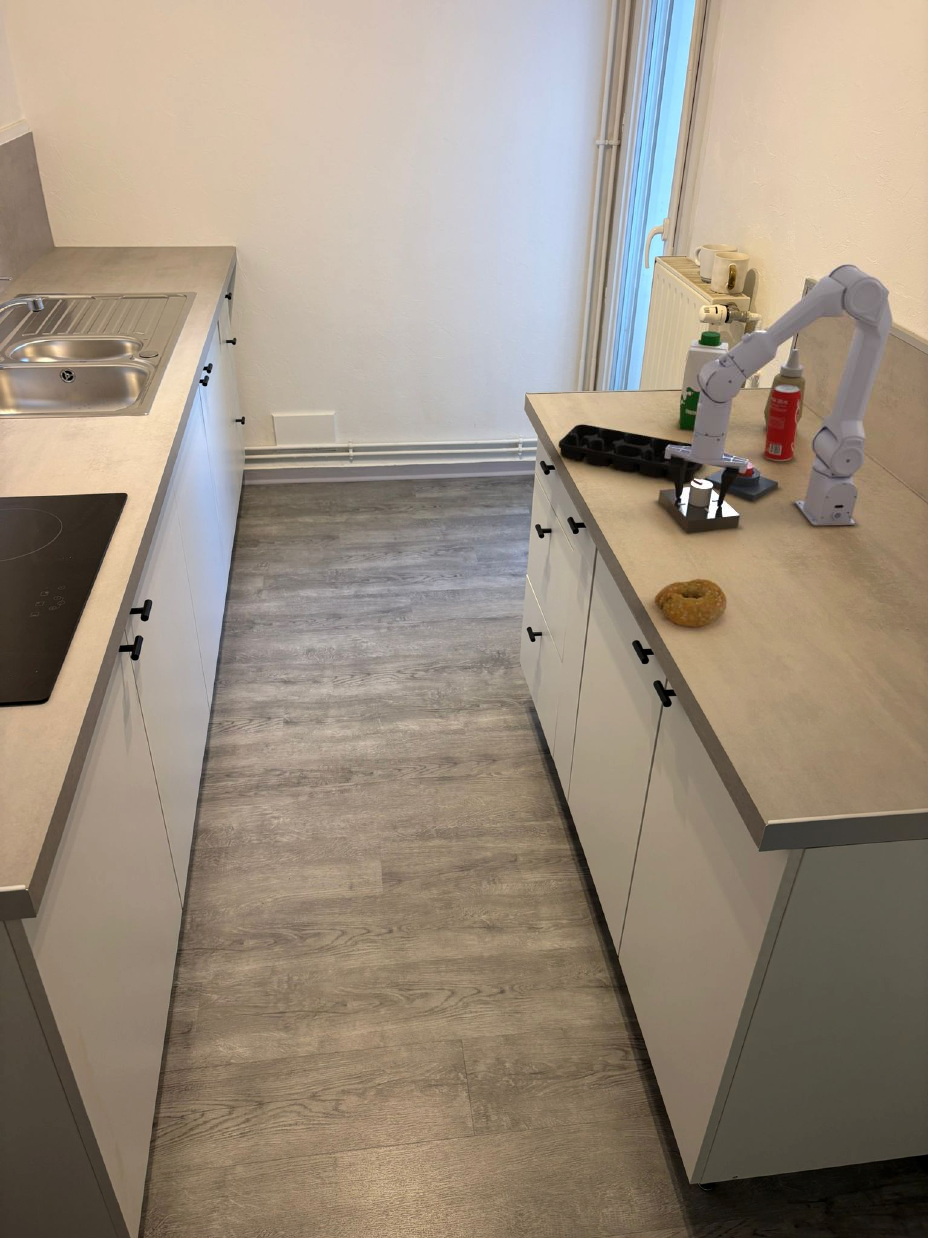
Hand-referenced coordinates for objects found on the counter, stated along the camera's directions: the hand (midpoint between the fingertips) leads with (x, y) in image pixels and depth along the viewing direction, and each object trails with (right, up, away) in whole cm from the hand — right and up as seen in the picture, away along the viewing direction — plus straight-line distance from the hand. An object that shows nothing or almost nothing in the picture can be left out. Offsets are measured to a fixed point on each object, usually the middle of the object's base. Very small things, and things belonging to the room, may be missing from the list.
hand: (699, 500), depth 177 cm
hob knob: (0, 0, 0) cm, 0 cm away
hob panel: (0, -2, +2) cm, 3 cm away
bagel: (-8, -21, -27) cm, 35 cm away
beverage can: (+22, +12, +25) cm, 36 cm away
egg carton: (-9, +11, +22) cm, 26 cm away
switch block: (+11, +4, +12) cm, 17 cm away
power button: (+11, +7, +11) cm, 17 cm away
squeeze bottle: (+27, +20, +38) cm, 51 cm away
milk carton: (+9, +22, +39) cm, 46 cm away
